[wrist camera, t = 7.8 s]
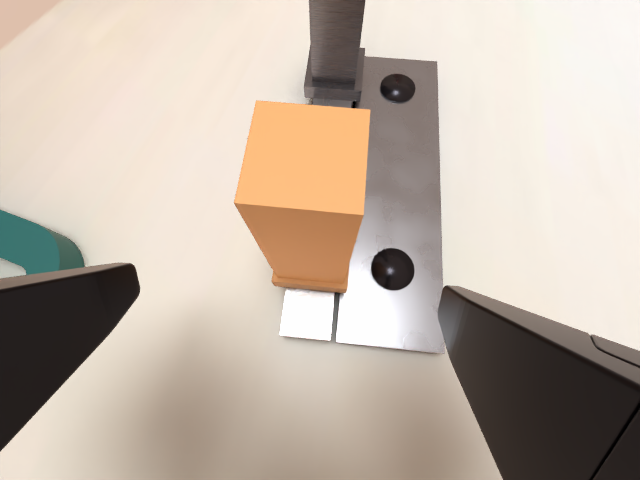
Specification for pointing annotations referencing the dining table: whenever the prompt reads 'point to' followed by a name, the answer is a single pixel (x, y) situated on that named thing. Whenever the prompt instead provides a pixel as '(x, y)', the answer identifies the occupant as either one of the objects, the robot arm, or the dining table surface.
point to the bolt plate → (398, 214)
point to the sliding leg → (305, 190)
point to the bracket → (36, 246)
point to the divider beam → (336, 91)
